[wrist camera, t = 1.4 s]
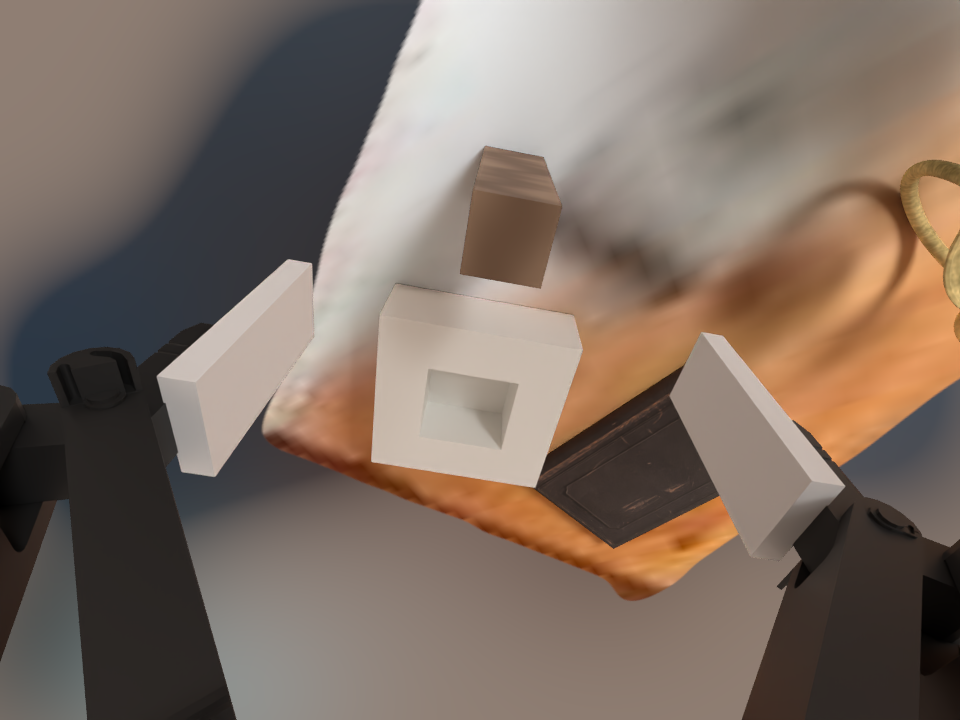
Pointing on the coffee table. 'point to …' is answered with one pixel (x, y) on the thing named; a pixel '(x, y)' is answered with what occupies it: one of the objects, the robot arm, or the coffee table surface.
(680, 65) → the coffee table surface
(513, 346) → the grey well block
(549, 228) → the walnut peg
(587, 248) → the coffee table surface
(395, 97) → the coffee table surface
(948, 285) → the wall sconce
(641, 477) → the hardcover book
